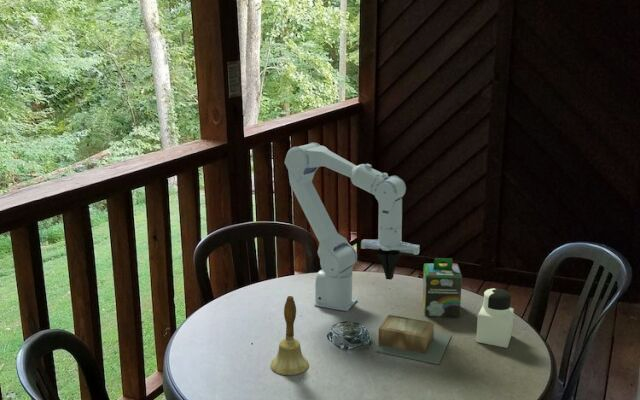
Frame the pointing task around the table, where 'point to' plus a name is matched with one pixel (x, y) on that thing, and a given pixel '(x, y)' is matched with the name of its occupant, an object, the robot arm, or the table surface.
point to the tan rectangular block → (406, 333)
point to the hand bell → (289, 346)
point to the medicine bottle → (495, 318)
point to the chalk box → (442, 288)
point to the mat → (431, 355)
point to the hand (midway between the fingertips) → (389, 278)
